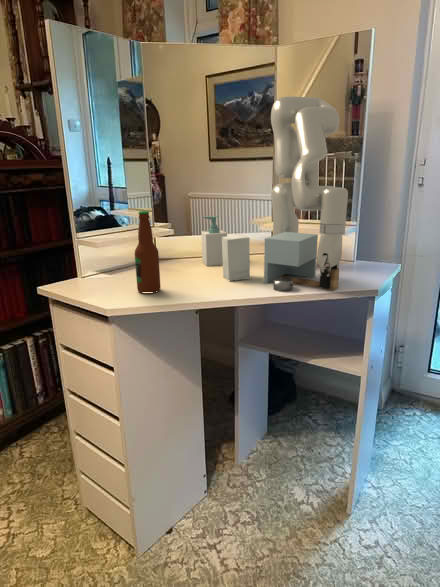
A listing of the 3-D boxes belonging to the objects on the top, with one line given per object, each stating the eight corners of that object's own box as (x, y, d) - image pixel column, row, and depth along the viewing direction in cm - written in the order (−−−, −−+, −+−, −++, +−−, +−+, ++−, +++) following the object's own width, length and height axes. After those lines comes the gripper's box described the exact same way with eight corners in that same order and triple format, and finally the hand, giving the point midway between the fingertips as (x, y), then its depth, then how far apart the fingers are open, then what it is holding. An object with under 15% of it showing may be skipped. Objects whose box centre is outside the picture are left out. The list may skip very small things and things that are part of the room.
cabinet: (264, 282, 136) (264, 238, 132) (284, 272, 149) (285, 231, 145) (297, 287, 130) (299, 241, 126) (315, 276, 143) (317, 234, 138)
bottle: (147, 286, 134) (142, 209, 127) (165, 289, 130) (160, 210, 123) (132, 292, 128) (126, 212, 121) (150, 295, 124) (145, 213, 117)
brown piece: (278, 282, 137) (278, 265, 135) (283, 279, 140) (284, 262, 138) (334, 290, 127) (335, 272, 125) (338, 287, 130) (339, 269, 128)
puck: (270, 290, 128) (270, 281, 128) (278, 285, 133) (278, 277, 132) (287, 293, 125) (287, 284, 124) (295, 288, 130) (295, 279, 129)
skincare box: (243, 275, 146) (243, 234, 142) (250, 279, 141) (250, 236, 137) (221, 277, 144) (221, 235, 139) (228, 282, 138) (227, 238, 134)
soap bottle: (201, 261, 169) (200, 215, 163) (222, 260, 171) (221, 214, 165) (206, 266, 161) (204, 217, 155) (227, 264, 163) (227, 216, 157)
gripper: (329, 225, 133) (326, 277, 138) (310, 232, 119) (307, 290, 124) (352, 226, 129) (348, 280, 134) (335, 233, 115) (331, 294, 120)
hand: (328, 284), depth 129 cm, fingers open, 6 cm apart
